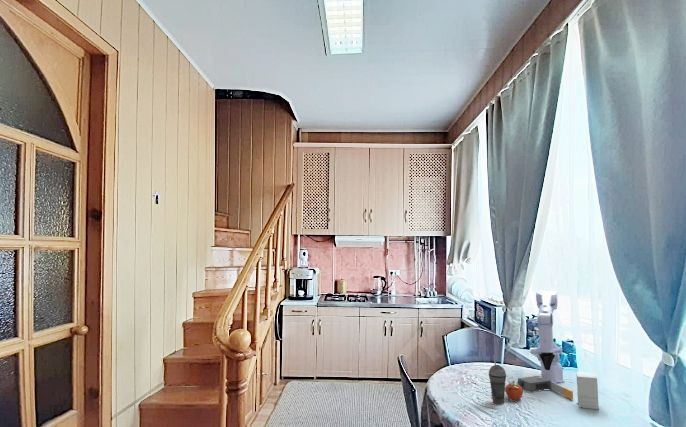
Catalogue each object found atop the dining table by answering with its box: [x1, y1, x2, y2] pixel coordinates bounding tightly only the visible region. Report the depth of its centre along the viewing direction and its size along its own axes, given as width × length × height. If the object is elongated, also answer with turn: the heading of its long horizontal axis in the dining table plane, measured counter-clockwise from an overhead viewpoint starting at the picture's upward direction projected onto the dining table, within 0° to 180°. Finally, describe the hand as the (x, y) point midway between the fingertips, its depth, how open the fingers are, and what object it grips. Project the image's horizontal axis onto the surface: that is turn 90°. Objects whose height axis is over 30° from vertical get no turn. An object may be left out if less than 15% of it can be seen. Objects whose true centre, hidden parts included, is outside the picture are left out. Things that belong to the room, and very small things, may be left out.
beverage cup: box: [488, 354, 507, 405], centre depth 193 cm, size 7×7×20 cm
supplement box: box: [576, 371, 600, 410], centre depth 187 cm, size 7×7×13 cm
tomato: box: [505, 380, 524, 402], centre depth 196 cm, size 7×7×8 cm
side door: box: [550, 381, 574, 401], centre depth 201 cm, size 15×1×4 cm, turn 9°
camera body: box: [516, 375, 552, 393], centre depth 210 cm, size 13×8×5 cm, turn 108°
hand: (547, 369), depth 207 cm, fingers closed
